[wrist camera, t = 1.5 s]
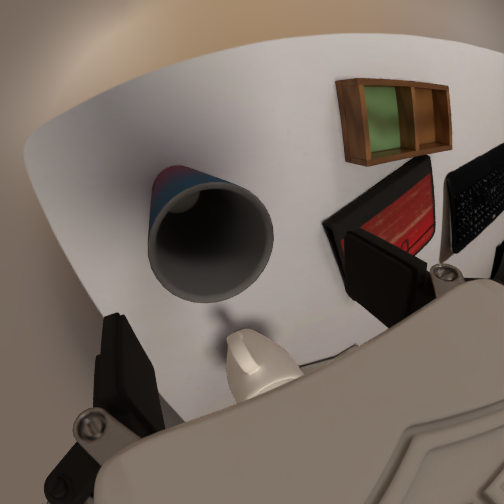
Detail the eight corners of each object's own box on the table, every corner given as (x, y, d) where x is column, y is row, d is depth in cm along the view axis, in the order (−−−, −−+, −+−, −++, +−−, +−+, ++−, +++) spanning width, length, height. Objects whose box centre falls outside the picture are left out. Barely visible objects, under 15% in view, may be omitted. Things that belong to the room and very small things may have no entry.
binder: (331, 228, 33) (431, 155, 36) (320, 221, 35) (419, 151, 37) (356, 309, 42) (438, 235, 44) (347, 301, 44) (429, 230, 46)
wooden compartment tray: (335, 80, 29) (357, 78, 25) (428, 85, 33) (448, 86, 30) (345, 161, 33) (367, 167, 30) (433, 145, 38) (452, 149, 35)
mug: (279, 341, 41) (318, 396, 31) (231, 370, 40) (260, 431, 31) (244, 284, 35) (286, 344, 25) (186, 320, 34) (209, 391, 24)
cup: (205, 225, 30) (260, 302, 18) (140, 221, 28) (145, 303, 15) (215, 160, 28) (286, 191, 15) (148, 153, 25) (154, 175, 12)
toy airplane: (357, 355, 51) (364, 362, 49) (262, 411, 48) (267, 420, 46) (356, 330, 47) (363, 337, 45) (249, 391, 44) (254, 401, 42)
